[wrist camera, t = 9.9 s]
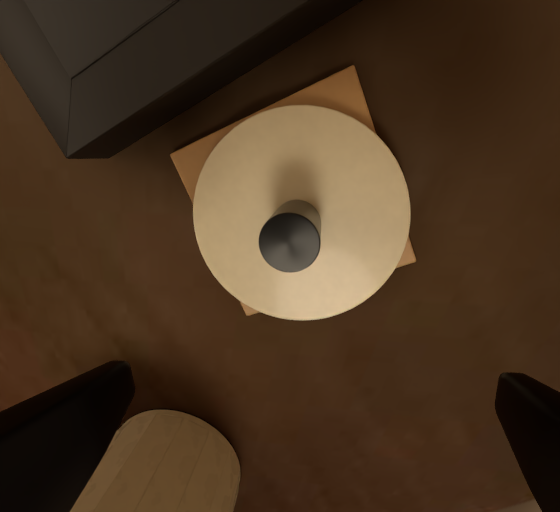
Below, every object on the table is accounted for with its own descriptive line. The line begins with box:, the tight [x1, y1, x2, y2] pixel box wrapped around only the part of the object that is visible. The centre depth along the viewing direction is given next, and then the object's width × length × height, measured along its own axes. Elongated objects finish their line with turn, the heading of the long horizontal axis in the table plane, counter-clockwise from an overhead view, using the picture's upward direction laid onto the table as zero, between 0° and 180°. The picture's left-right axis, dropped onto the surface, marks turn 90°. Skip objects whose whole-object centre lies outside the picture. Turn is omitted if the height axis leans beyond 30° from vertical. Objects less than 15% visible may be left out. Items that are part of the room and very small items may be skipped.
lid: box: [193, 105, 410, 320], centre depth 14 cm, size 11×11×5 cm
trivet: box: [170, 65, 416, 316], centre depth 17 cm, size 10×10×1 cm
